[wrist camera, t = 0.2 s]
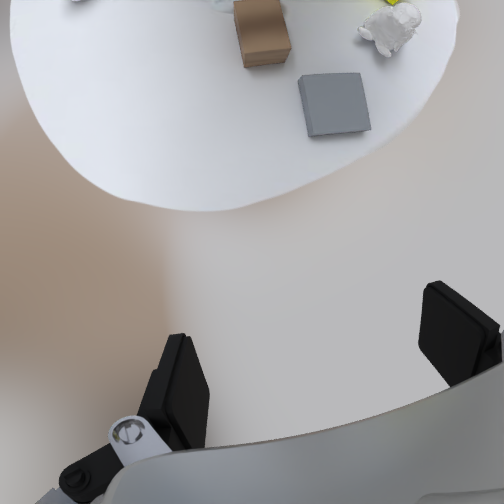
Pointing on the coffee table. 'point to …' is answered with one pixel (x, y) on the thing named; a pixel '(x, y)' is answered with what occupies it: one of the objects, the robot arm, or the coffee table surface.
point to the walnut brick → (261, 32)
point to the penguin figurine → (391, 26)
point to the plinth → (334, 103)
